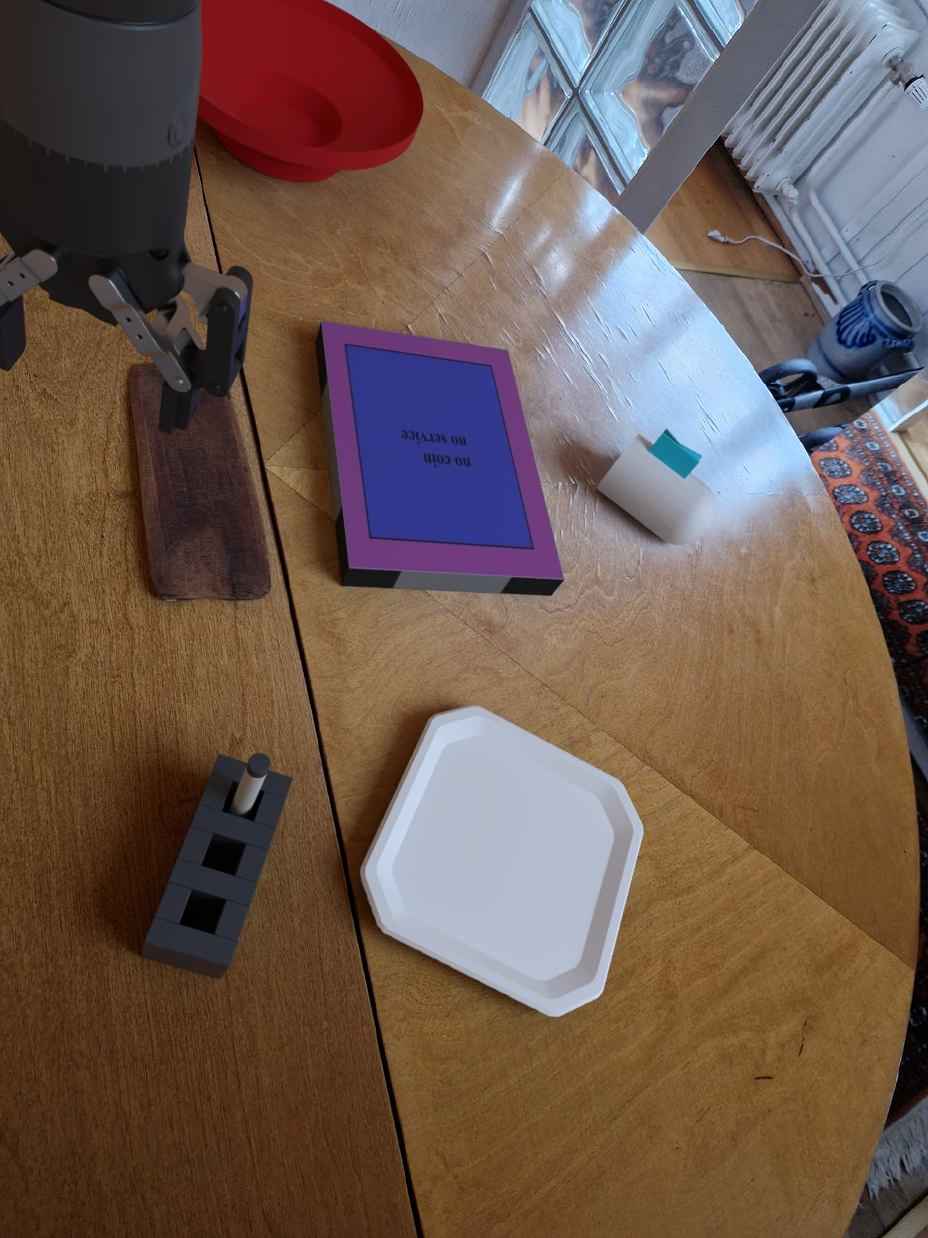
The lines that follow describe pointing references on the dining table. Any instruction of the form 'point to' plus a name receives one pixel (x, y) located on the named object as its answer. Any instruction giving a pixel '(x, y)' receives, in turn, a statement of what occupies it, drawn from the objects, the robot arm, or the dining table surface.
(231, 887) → the pen block
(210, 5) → the bowl
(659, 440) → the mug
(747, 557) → the dining table surface
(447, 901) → the plate
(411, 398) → the book
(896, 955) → the dining table surface
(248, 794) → the stylus
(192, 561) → the wooden tablet
